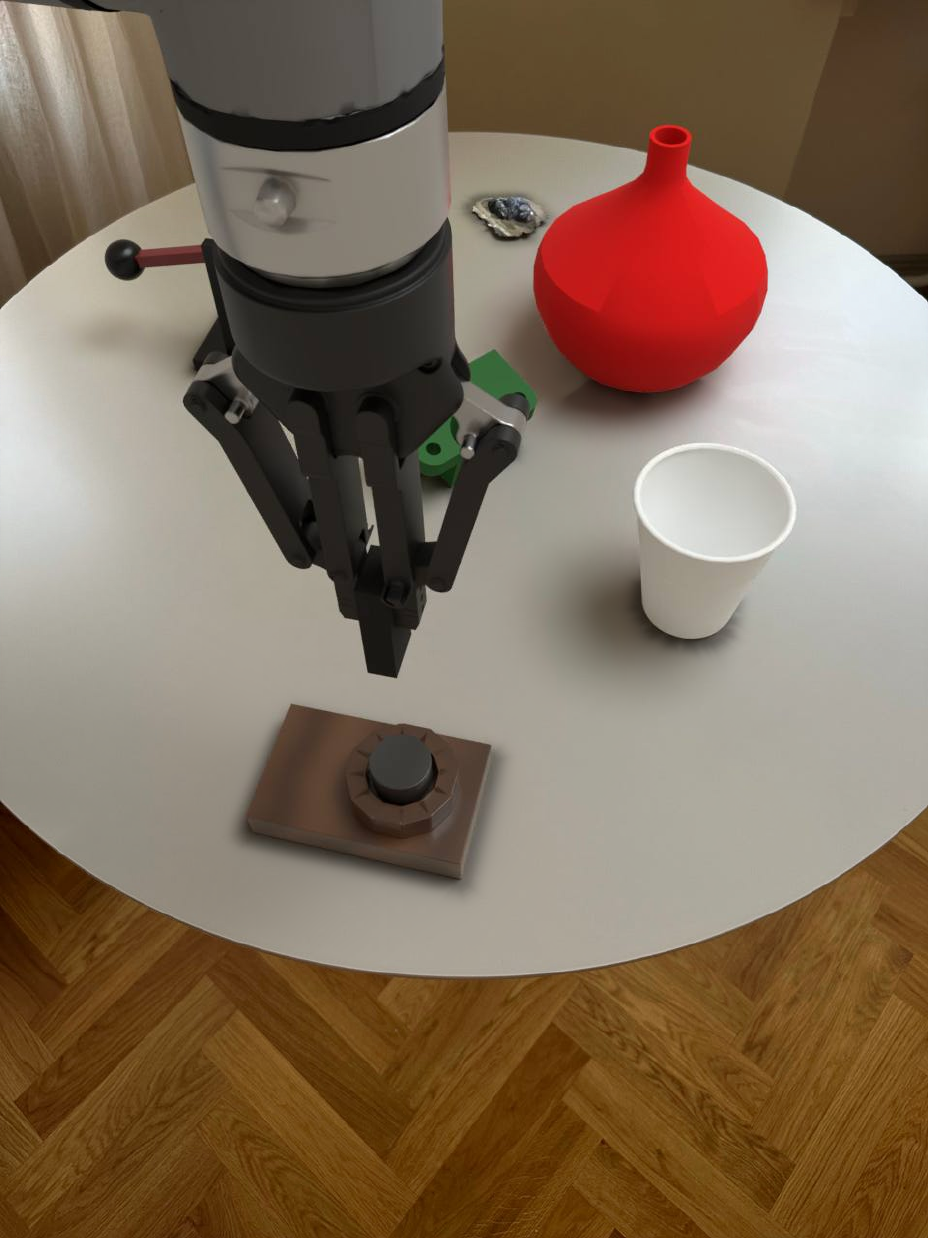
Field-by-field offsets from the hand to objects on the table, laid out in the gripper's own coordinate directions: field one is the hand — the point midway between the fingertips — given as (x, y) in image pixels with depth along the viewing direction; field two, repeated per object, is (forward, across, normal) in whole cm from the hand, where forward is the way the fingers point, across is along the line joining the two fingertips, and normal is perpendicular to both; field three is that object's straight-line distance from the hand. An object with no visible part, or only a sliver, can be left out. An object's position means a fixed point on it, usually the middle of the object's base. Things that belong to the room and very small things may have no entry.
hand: (389, 653), depth 51 cm
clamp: (+16, -4, +30) cm, 34 cm away
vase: (+16, +8, +45) cm, 48 cm away
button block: (+16, -2, 0) cm, 16 cm away
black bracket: (+16, -23, +38) cm, 47 cm away
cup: (+16, +15, +19) cm, 29 cm away
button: (+12, 0, 0) cm, 12 cm away
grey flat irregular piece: (+16, -7, +62) cm, 64 cm away
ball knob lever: (+8, -28, +38) cm, 48 cm away
